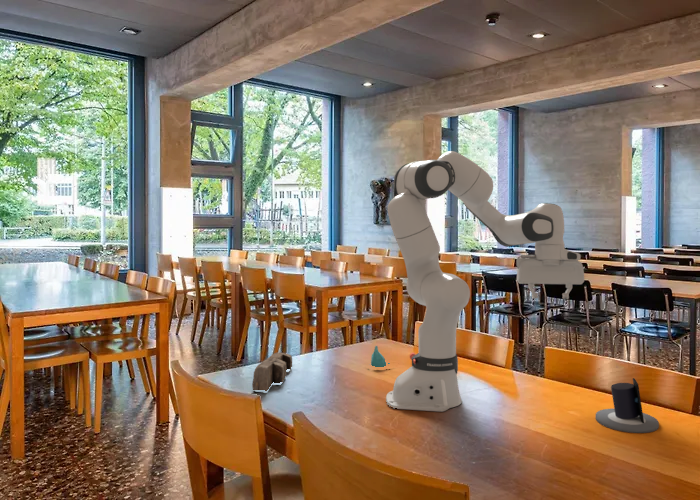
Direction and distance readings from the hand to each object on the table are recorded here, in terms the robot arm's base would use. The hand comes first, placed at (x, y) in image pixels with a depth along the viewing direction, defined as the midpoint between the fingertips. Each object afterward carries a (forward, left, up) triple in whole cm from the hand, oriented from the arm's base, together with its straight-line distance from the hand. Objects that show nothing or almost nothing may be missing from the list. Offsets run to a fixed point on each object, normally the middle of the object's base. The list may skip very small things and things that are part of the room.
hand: (550, 298), depth 176 cm
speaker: (+11, -29, -28) cm, 42 cm away
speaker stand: (+11, -29, -29) cm, 42 cm away
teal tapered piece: (-52, +28, -29) cm, 66 cm away
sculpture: (-90, +11, -29) cm, 96 cm away
